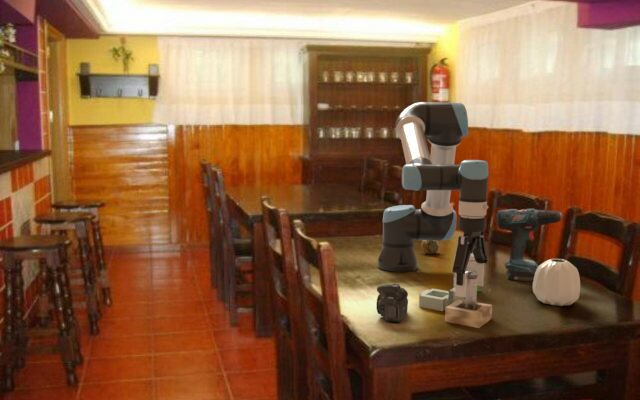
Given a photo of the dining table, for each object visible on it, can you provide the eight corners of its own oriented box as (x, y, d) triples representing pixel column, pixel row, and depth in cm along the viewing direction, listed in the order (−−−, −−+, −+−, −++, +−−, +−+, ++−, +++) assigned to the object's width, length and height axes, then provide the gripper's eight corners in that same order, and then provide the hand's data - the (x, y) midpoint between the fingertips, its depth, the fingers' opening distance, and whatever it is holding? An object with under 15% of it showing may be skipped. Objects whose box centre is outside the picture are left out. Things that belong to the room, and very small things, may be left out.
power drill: (563, 282, 221) (567, 211, 217) (494, 279, 225) (497, 209, 222) (559, 276, 229) (563, 207, 226) (493, 273, 234) (496, 205, 230)
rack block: (444, 321, 179) (445, 307, 179) (458, 312, 187) (458, 299, 187) (479, 328, 174) (479, 314, 173) (491, 318, 182) (492, 304, 181)
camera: (373, 310, 189) (373, 277, 188) (406, 310, 190) (407, 277, 188) (378, 325, 176) (378, 289, 175) (414, 324, 176) (414, 289, 175)
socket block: (416, 306, 193) (416, 287, 192) (429, 298, 201) (429, 280, 200) (465, 315, 184) (465, 295, 184) (476, 307, 192) (477, 288, 191)
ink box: (478, 287, 214) (480, 253, 212) (481, 291, 209) (483, 256, 208) (452, 287, 214) (454, 252, 213) (455, 291, 210) (456, 256, 208)
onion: (442, 252, 268) (443, 233, 266) (435, 256, 261) (436, 236, 260) (425, 250, 272) (426, 232, 270) (418, 253, 265) (418, 234, 264)
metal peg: (458, 320, 180) (460, 272, 178) (464, 316, 183) (465, 269, 181) (472, 323, 178) (474, 274, 176) (477, 319, 181) (479, 271, 179)
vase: (575, 312, 188) (577, 267, 187) (527, 304, 196) (529, 261, 194) (583, 300, 200) (586, 258, 198) (538, 293, 207) (540, 253, 206)
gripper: (468, 223, 164) (465, 303, 167) (500, 211, 185) (497, 283, 188) (441, 220, 168) (439, 298, 171) (475, 209, 189) (472, 279, 192)
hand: (469, 290), depth 179 cm, fingers open, 13 cm apart
